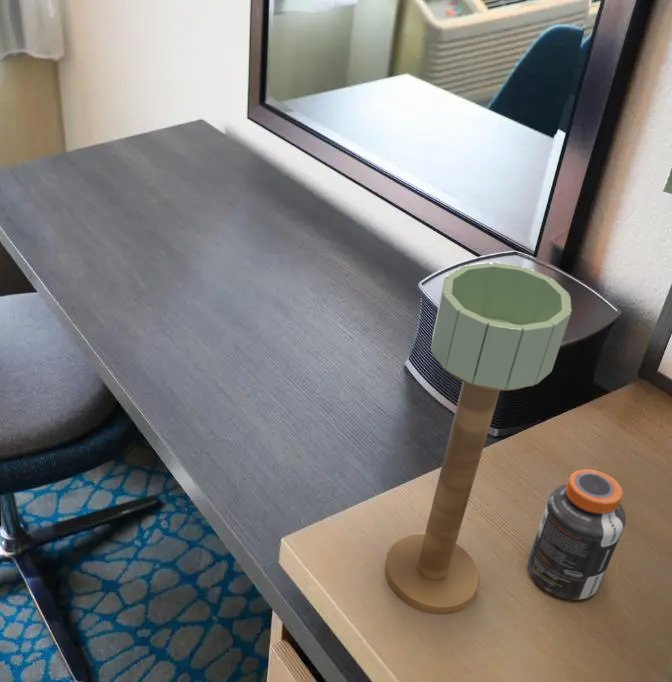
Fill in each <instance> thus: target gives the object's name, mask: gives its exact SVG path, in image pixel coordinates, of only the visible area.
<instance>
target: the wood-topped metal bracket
mask: <svg viewBox="0 0 672 682" xmlns="http://www.w3.org/2000/svg"><path fill="white" fill-rule="evenodd" d="M662 192H664V193H667V194H671V195H672V166H671V168H670V170H669V173H668V175H667V178H666V181H665V184H664V185H663V189H662Z"/></svg>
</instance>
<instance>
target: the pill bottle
mask: <svg viewBox="0 0 672 682" xmlns="http://www.w3.org/2000/svg"><path fill="white" fill-rule="evenodd" d="M623 493H624V492H623V489H622V486H621V485H620V484H619V482H618V481H617V480H616V479H614V478H613V477H612V476H610V475H609V474H606V473H604V472H602V471H599V470H596V469H588V468H587V469H584V468H583V469H578V470H575V471H574V472H573V473H572V474H571V475H570V476H569V479H568V481H567V483H564V484H561V485H559V486H557V487H556V488H555V489H554V490H553V491H551V493H550V495H549V497H548V500H547V503H546V506H545V509H544V512H543V515H542V516H541V519H540V523H539V526H538V530H537V532H536V536H535V539H534V542H533V544H532V546H531V547H532V548H531V550H530V553H529V556H528V559H527V568H528V571H529V574H530V576H531V577H532V579H533V580H534V581H535V583H537V585H539V586H540V587H541V588H542V589H544V590H545V591H546V592H547V593H549V594H552V595H554V596H557V597H559V598H562V599H566V600H574V601H579V600H584V599H588V598H590V597H592V596H593V595H595V594H596V593H597V591H599V588H600V586H601V583H602V581H603V578H604V576H605V574H606V572H607V569H608V566H609V564H610V561H612V560H611V559H612V557H613V556H614V552H615V550H616V547H617V545H618V543H619V541H620V538H621V536H622V534H623V531H624V529H625V528H626V527H625V526H626V522H627V518H626V513H625V510H624V508H623V506H622V505H621V500H622V498H623Z"/></svg>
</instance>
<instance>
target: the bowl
mask: <svg viewBox="0 0 672 682" xmlns="http://www.w3.org/2000/svg"><path fill="white" fill-rule="evenodd" d="M572 310H573V309H572V301H571V295H570V293H569V292H568V291H567V290H566V289H565V288H563V287H562V286H561V285H560V284H559V283H558V282H557V281H556V280H555V279H554V278H551V277H550V276H548V275H546V274H543V273H540V272H538V271H536V270H533V269H531V268H528V267H526V266H523V267H522V265H518V264H509V263H502V262H493V261H491V262H490V261H487V262H481V263H474V264H473V263H472V264H466V265H463V266H459V267H458V268H456V270H453V271H452V272H451V273H449V274H447V275H446V276H445V277H444V279H443V283H442V289H441V295H440V299H439V303H438V308H437V313H436V319H435V322H434V327H433V332H432V339H431V346H430V351H431V353H432V355H433V356H434V358H435V359H436V360H437V361H438V362H439V364H440V365H441V367H443V369H444V370H445V371H447V372H448V373H449V372H450V373H452V374H454V375H456V376H458V377H460V378H461V379H463V380H465V381H467V382H469V383H474V384H475V385H480V386H486V387H491V388H497V389H503V390H505V389H507V390H509V389H516V388H521V389H523V388H522V387H524V388H527V387H533V386H535V385H538V384H539V383H540V382H541V381H542V380H544V379H545V378H546V377H547V376H548V375H550V374H551V373H552V371H553V369H554V366H555V363H556V361H557V357H558V354H559V351H560V348H561V345H562V342H563V339H564V336H565V333H566V331H567V327H568V324H569V322H570V318H571V315H572V312H573V311H572ZM450 373H449V374H450ZM452 374H451V375H452ZM516 390H517V389H516ZM509 391H510V390H509Z"/></svg>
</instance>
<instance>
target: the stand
mask: <svg viewBox="0 0 672 682" xmlns="http://www.w3.org/2000/svg"><path fill="white" fill-rule="evenodd" d="M448 373H449V375H452V376H453V377H454V378H456V379H458V380H459V381H461V382H462V384H461V387H460V392H459V395H458V400H457V402H456V403H457V404H456V407H455V411H454V415H453V419H452V424H451V427H450V430H449V431H450V432H449V436H448V439H447V444H446V448H445V450H444V451H445V452H444V456H443V460H442V463H441V467H440V471H439V475H438V476H439V477H438V480H437V484H436V488H435V491H434V496H433V500H432V505H431V509H430V512H429V516H428V520H427V524H426V528H425V532H424V533H423V532H421V533H420V532H419V533H412V534H408V535H405V536H403V537H401V538H399V539H398V540H396V541H395V542H394V543H393V544H392V545H391V547H390V548H389V549H388V552H387V555H386V560H385V564H384V573H385V578H386V581H387V583H388V585H389V587H390V589H391V591H392V592H393V593H394V594H395V595H396V596H397V598H399V599H400V600H401V601H402V602H403V603H405V604H407V605H408V606H410V607H411V608H413V609H415V610H418V611H420V612H423V613H425V614H431V615H451V614H456V613H458V612H460V611H461V612H462V611H463V610H464V609H466V608H468V606H470V605H471V603H472V602H473V600H474V599H475V597H476V594H477V591H478V588H479V584H480V575H479V570H478V567H477V565H476V563H475V561H474V559H473V558H472V556H471V555H470V554H469V553H468V551H466V550H465V549H464V548H463V547H462V546H460V545H459V544H457V542H458V541H457V540H458V538H459V534H460V531H461V527H462V523H463V520H464V517H465V514H466V509H467V507H468V503H469V499H470V496H471V492H472V489H473V486H474V482H475V479H476V477H477V472H478V468H479V464H480V461H481V458H482V455H483V452H484V448H485V444H486V441H487V437H488V433H489V430H490V426H491V423H492V421H493V417H494V413H495V410H496V406H497V403H498V400H499V396H500V392H505V391H506V392H507V391H508V392H509V391H516V390H521V389H524V388H525V387H522V388H516V389H509V390H507V389H505V390H503V389H497V388H491V387H486V386H480V385H475V384H474V383H469V382H467V381H465V380H463V379H461V378H460V377H458V376H456V375H454V374H452V373H450V372H448Z"/></svg>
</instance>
